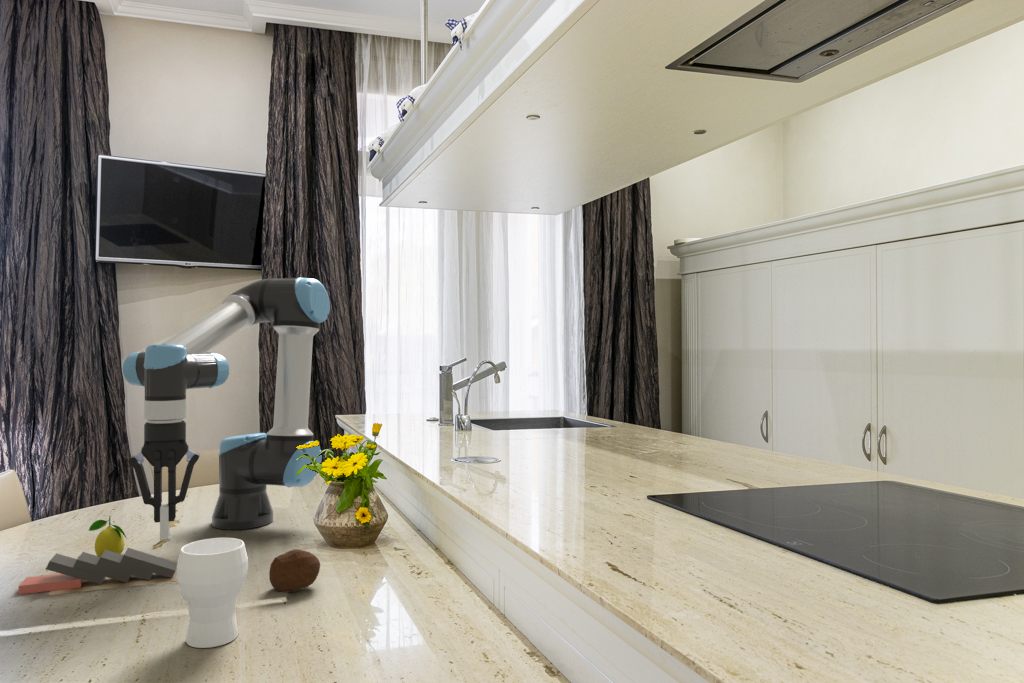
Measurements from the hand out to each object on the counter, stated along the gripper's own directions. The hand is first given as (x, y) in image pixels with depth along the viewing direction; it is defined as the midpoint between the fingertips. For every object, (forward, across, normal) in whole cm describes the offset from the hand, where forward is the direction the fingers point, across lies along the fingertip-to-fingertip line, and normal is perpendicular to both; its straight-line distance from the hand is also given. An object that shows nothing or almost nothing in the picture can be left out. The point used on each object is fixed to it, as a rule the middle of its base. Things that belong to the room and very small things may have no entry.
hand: (164, 537), depth 140 cm
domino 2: (+7, +10, 0) cm, 12 cm away
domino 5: (+7, -2, 0) cm, 7 cm away
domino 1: (+7, +14, 0) cm, 16 cm away
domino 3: (+7, +6, 0) cm, 9 cm away
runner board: (+8, +6, 0) cm, 10 cm away
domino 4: (+7, +2, 0) cm, 7 cm away
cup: (+9, -10, +33) cm, 36 cm away
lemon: (+9, +13, -16) cm, 22 cm away
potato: (+9, -24, +15) cm, 30 cm away
